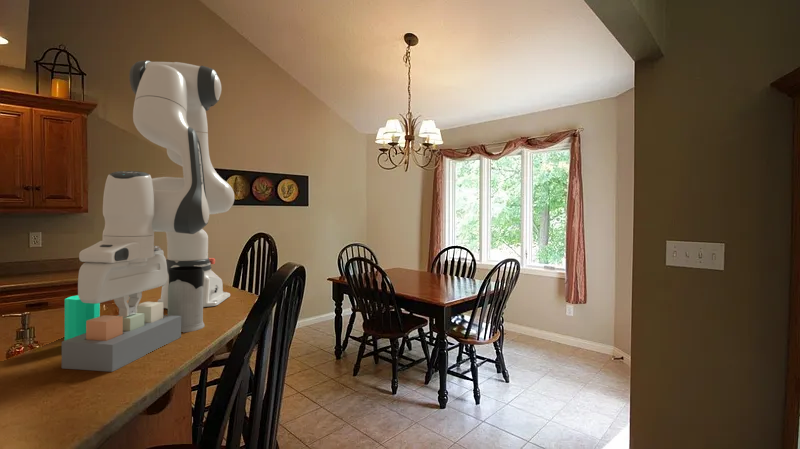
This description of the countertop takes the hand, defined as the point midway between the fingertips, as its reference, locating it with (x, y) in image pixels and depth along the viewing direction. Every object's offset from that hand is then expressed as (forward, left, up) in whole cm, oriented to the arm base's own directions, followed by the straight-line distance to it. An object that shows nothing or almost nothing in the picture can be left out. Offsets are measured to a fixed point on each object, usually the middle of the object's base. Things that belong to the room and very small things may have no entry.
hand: (128, 315), depth 83 cm
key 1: (+6, 0, -5) cm, 8 cm away
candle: (-2, -12, -8) cm, 14 cm away
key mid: (0, 0, -6) cm, 6 cm away
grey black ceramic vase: (-20, +1, -8) cm, 22 cm away
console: (0, 0, -8) cm, 8 cm away
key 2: (-6, 0, -5) cm, 8 cm away
